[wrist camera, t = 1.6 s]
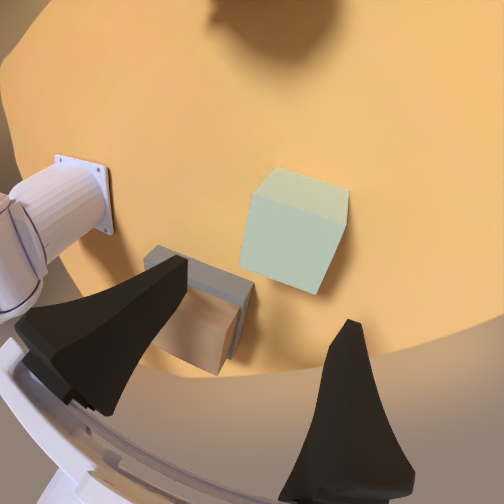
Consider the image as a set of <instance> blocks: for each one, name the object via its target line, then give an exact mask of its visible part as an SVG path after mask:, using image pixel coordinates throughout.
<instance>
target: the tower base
mask: <svg viewBox="0 0 504 504" xmlns="http://www.w3.org/2000/svg"><path fill="white" fill-rule="evenodd" d="M174 255H179V256H181V257H184V258H186V259H188V283H187V284H188V285H190V286H192V287H195V288H197V289H199V290H202V291H204V292H206V293H209V294H211V295H214V296H216V297H218V298H221V299H223V300H226V301H228V302H230V303H233V304H235V305H238V306H240V309H239V313H238V317H237V322H236V326H235V330H234V334H233V338H232V342H231V347H230V351H229V354H228V356H227V359H230V360H231V358H232V356H233V354H234V352H235V350H236V348H237V346H238V344H239V341H240V337H241V333H242V329H243V325H244V321H245V317H246V313H247V309H248V305H249V301H250V297H251V293H252V289H253V285H254V282H252V281H249V280H247V279H244V278H241V277H239V276H236V275H234V274H231V273H228V272H226V271H223V270H220V269H218V268H215V267H213V266H210V265H208V264H205V263H202V262H200V261H197V260H195V259H192V258H190V257H187V256H185V255H182V254H180V253H177V252H175V251H172V250H170V249H167V248H165V247H162V246H160V245H157V246H156V247H155V248H154V249H153V250H152V251H151V252H150V253H149V254H148V255H147V256H145V257H144V267H145V271H146V270H148V269H150V268H152V267H154V266H156V265H157V264H159V263H161V262H163V261H165V260H167V259H168V258H170V257H172V256H174Z"/></svg>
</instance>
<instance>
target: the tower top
mask: <svg viewBox="0 0 504 504" xmlns="http://www.w3.org/2000/svg"><path fill="white" fill-rule="evenodd" d="M239 309H240V306H238V305H235V304H233V303H230V302H228V301H226V300H223V299H221V298H218V297H216V296H214V295H211V294H209V293H206V292H204V291H202V290H199V289H197V288H195V287H192V286H190V285H188V284H187V293H186V295H185V296H184V298H183V300H182V302H181V303H180V305H179V307H178V308H177V310H176V311H175V312H174V314H173V315H172V316H171V318H170V319H169V320H168V321H167V323H166V324H165V325H164V327H163V328H162V329H161V330H160V332H159V333H158V334H157V335H156V337H155V338H154V339H153V341H152V342H151V344H152V345H154V346H156V347H158V348H160V349H162V350H164V351H166V352H168V353H169V354H171V355H173V356H175V357H177V358H179V359H181V360H183V361H186V362H188V363H190V364H192V365H194V366H196V367H198V368H200V369H202V370H205V371H207V372H209V373H211V374H214V375H216V376H218V374H219V372H220V370H221V368H222V366H223V364H224V362H225V360H226V358H227V356H228V354H229V351H230V347H231V342H232V338H233V334H234V330H235V326H236V322H237V317H238V313H239Z"/></svg>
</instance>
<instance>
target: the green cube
mask: <svg viewBox="0 0 504 504" xmlns="http://www.w3.org/2000/svg"><path fill="white" fill-rule="evenodd" d="M348 199H349V191H348V190H345V189H342V188H339V187H337V186H334V185H331V184H328V183H325V182H322V181H319V180H317V179H314V178H311V177H308V176H304V175H301V174H298V173H295V172H292V171H289V170H286V169H282V168H279V167H276V168H275V169H274V171H273V172H272V173H271V174H270V175H269V176H268V177H267V178H266V179H265V180H264V181H263V182H262V183H261V184H260V185H259V187H258V188H257V189H256V190H255V191H254V192H253V193H252V197H251V202H250V207H249V212H248V218H247V223H246V228H245V233H244V239H243V244H242V249H241V254H240V260H239V265H238V267H241V268H244V269H246V270H249V271H252V272H254V273H257V274H260V275H262V276H265V277H268V278H270V279H273V280H276V281H279V282H281V283H284V284H287V285H289V286H292V287H295V288H298V289H300V290H303V291H306V292H309V293H312V294H314V295H316V293H317V291H318V289H319V287H320V285H321V282H322V280H323V278H324V276H325V274H326V272H327V269H328V267H329V265H330V263H331V260H332V258H333V256H334V254H335V251H336V249H337V247H338V244H339V242H340V240H341V237H342V235H343V232H344V230H345V228H346V223H347V212H348Z"/></svg>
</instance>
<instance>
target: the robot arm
mask: <svg viewBox="0 0 504 504" xmlns="http://www.w3.org/2000/svg"><path fill="white" fill-rule="evenodd" d="M93 228H94V229H96V230H99V231H101V232H103V233H105V234H107V235H110V236H111V235H113V234H114V229H113V221H112V213H111V204H110V194H109V182H108V170H107V167H106V166H104V165H101V164H97V163H93V162H89V161H84V160H80V159H76V158H72V157H68V156H63V155H59V154H57V155H55V164H53V165H51V166H49V167H47V168H45V169H43V170H41V171H39V172H38V173H36V174H34V175H32V176H30V177H28V178H27V179H25V180H23V181H21V182H20V183H18V184H17V185H16V186H15V187H14V188H13V189H12V190H11V192H10V194H9V195H5V194H2V193H0V324H2V323H3V322H5V321H6V320H8V319H11V318H13V317H17V316H19V315H21V314H23V313H24V312H26V311H27V310H28V309H29V310H28V311H27V312H26V313H25V314H24V315H23V317H21V318H20V320H19V321H18V322H17V323H16V324H15V325H14V328H15V330H16V332H17V333H18V335H19V336H20V338H21V339H22V340H23V342H24V343H25V345H26V346H27V347H28V349H29V350H30V351H29V352H28V353H27V354H26V353H25V351H24V350H23V349H22V348H21V347H20V346H19V345H18V343H17V342H16V341H15V340H14V339H13V338H12V337H10V338H9V339H8V340H7V341H6V343H5V344H4V345H3V346H2V347H1V349H0V394H1V396H2V397H3V399H4V400H5V402H6V403H7V405H8V406H9V408H10V409H11V410H12V412H13V413H14V415H15V416H16V417H17V419H18V420H19V421H20V423H21V424H22V425H23V427H24V428H25V429H26V430H27V432H28V433H29V434H30V435H31V437H32V438H33V439H34V440H35V441H36V442H37V443H38V445H39V446H40V447H41V448H42V449H43V450H44V452H45V453H46V454H47V455H48V456H49V457H50V458H51V459H52V460H53V461H54V462H55V463H56V464H57V465H58V466H59V469H58V470H57V472H56V473H55V475H54V476H53V478H52V479H51V481H50V483H49V484H48V486H47V488H46V489H45V491H44V492H43V494H42V496H41V497H40V499H39V500H38V502H37V504H195V503H193V502H190V501H188V500H186V499H183V498H181V497H179V496H177V495H175V494H173V493H170V492H168V491H166V490H164V489H162V488H160V487H158V486H156V485H154V484H152V483H150V482H148V481H146V480H145V479H143V478H141V477H139V476H137V475H135V474H134V473H132V472H130V471H128V470H127V469H125V468H123V467H122V466H120V465H119V462H120V460H121V459H122V457H121V456H120V455H118V454H117V453H115V452H114V451H112V450H111V449H109V448H108V447H106V446H105V445H103V444H102V443H101V442H99V441H98V440H96V439H95V438H93V437H92V435H91V430H92V431H94V432H95V433H97V434H98V435H99V436H101V437H102V438H103V439H105V440H106V441H108V442H109V443H111V444H112V445H114V446H115V447H117V448H118V449H120V450H121V451H123V452H125V453H126V454H128V455H129V456H131V457H133V458H134V459H136V460H138V461H140V462H141V463H143V464H145V465H147V466H148V467H151V468H152V469H154V470H156V471H158V472H160V473H162V474H164V475H166V476H168V477H170V478H172V479H174V480H176V481H178V482H180V483H182V484H185V485H187V486H189V487H191V488H194V489H196V490H199V491H201V492H204V493H206V494H209V495H211V496H214V497H216V498H219V499H222V500H225V501H228V502H231V503H234V504H388V503H389V500H390V499H395V498H401V497H405V496H408V495H410V494H412V491H413V486H414V481H415V471H414V469H413V468H412V466H411V464H410V463H409V461H408V460H407V458H406V456H405V455H404V453H403V451H402V449H401V447H400V446H399V444H398V442H397V440H396V437H395V435H394V433H393V431H392V429H391V426H390V424H389V422H388V419H387V417H386V414H385V412H384V409H383V406H382V403H381V400H380V397H379V394H378V391H377V387H376V384H375V381H374V377H373V373H372V369H371V365H370V361H369V357H368V352H367V348H366V343H365V339H364V334H363V329H362V325H361V323H358V322H355V321H352V320H350V319H347V321H346V322H345V324H344V326H343V327H342V329H341V330H340V332H339V333H338V334H337V336H336V337H335V339H334V340H333V342H332V343H331V345H330V346H329V350H328V353H327V356H326V360H325V363H324V367H323V372H322V378H321V383H320V388H319V393H318V398H317V403H316V408H315V412H314V416H313V420H312V423H311V426H310V428H309V431H308V434H307V437H306V439H305V442H304V444H303V447H302V449H301V452H300V454H299V456H298V459H297V461H296V463H295V465H294V468H293V470H292V472H291V474H290V476H289V478H288V480H287V482H286V484H285V486H284V488H283V489H282V491H281V493H280V495H279V498H278V501H276V500H272V499H268V498H265V497H261V496H257V495H254V494H251V493H247V492H244V491H241V490H238V489H234V488H232V487H229V486H226V485H223V484H221V483H218V482H215V481H213V480H210V479H208V478H205V477H203V476H200V475H198V474H196V473H193V472H191V471H189V470H187V469H185V468H182V467H180V466H178V465H176V464H174V463H172V462H170V461H168V460H166V459H164V458H162V457H160V456H158V455H156V454H154V453H153V452H151V451H149V450H147V449H145V448H144V447H142V446H140V445H139V444H137V443H135V442H134V441H132V440H130V439H129V438H127V437H125V436H124V435H122V434H121V433H119V432H118V431H116V430H115V429H113V428H112V427H110V426H109V425H107V424H106V423H104V422H103V421H101V420H100V419H99V418H97V417H96V416H95V415H93V414H92V413H90V412H89V411H88V410H87V407H89V408H90V409H91V410H93V411H95V410H97V411H98V412H99V413H101V414H102V415H104V416H111V415H113V412H114V410H115V407H116V405H117V403H118V401H119V399H120V396H121V394H122V392H123V390H124V388H125V386H126V384H127V382H128V380H129V378H130V376H131V375H132V373H133V371H134V369H135V367H136V365H137V364H138V362H139V360H140V359H141V357H142V355H143V354H144V352H145V350H146V349H147V347H148V346H149V345H150V343H151V342H152V341H153V339H154V338H155V337H156V335H157V334H158V333H159V332H160V330H161V329H162V328H163V327H164V325H165V324H166V323H167V321H168V320H169V319H170V318H171V316H172V315H173V314H174V312H175V311H176V310H177V308H178V307H179V305H180V303H181V302H182V300H183V298H184V296H185V295H186V293H187V283H188V259H186V258H184V257H181V256H179V255H174V256H172V257H170V258H168V259H167V260H165V261H163V262H161V263H159V264H157V265H156V266H154V267H152V268H150V269H148V270H146V271H144V272H143V273H141V274H139V275H137V276H135V277H133V278H131V279H129V280H127V281H125V282H123V283H120V284H118V285H116V286H114V287H112V288H109V289H107V290H104V291H102V292H99V293H96V294H93V295H90V296H87V297H84V298H81V299H77V300H74V301H70V302H65V303H61V304H56V305H50V306H42V307H35V308H31V307H32V306H33V304H34V303H35V302H36V300H37V299H38V297H39V295H40V293H41V290H42V287H43V279H42V277H44V276H45V275H46V274H47V273H48V270H47V268H46V265H47V264H49V263H50V262H51V261H52V260H53V259H55V257H57V256H58V255H59V254H61V253H62V252H63V251H64V250H66V249H67V248H68V247H69V246H71V245H72V244H73V243H74V242H76V241H77V240H78V239H80V238H81V237H82V236H83V235H85V234H86V233H87V232H89V231H90V230H91V229H93ZM89 428H90V429H91V430H90V429H89ZM285 502H286V503H285Z"/></svg>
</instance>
